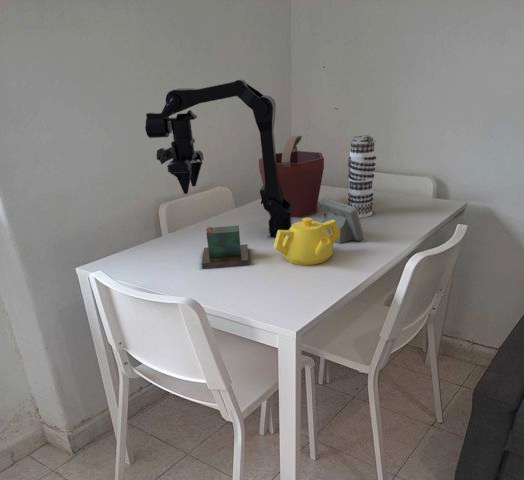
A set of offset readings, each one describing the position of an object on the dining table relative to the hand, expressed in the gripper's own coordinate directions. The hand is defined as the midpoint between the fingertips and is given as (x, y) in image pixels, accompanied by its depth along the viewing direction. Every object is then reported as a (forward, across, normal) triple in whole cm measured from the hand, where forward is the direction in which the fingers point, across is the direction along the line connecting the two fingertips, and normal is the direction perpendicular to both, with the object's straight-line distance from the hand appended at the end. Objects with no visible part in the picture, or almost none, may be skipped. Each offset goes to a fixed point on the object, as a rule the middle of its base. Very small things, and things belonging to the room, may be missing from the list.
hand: (190, 189), depth 155 cm
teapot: (+15, +22, +39) cm, 47 cm away
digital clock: (+15, +3, +47) cm, 50 cm away
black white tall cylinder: (+15, -21, +53) cm, 59 cm away
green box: (+13, +21, +15) cm, 29 cm away
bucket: (+15, -26, +30) cm, 43 cm away
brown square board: (+15, +21, +15) cm, 30 cm away
